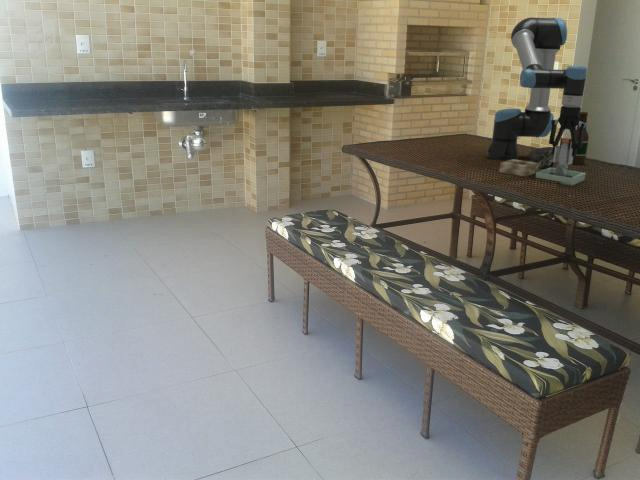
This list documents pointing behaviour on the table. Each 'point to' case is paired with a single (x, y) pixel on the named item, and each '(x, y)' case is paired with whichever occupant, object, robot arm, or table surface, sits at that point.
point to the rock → (542, 157)
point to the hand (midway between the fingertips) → (562, 162)
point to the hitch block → (519, 167)
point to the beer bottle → (581, 151)
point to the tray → (562, 180)
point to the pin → (563, 157)
